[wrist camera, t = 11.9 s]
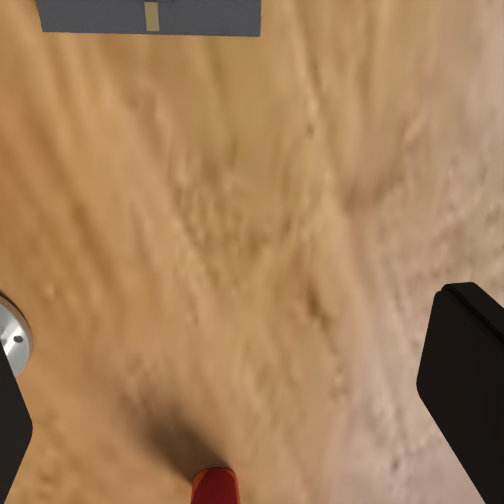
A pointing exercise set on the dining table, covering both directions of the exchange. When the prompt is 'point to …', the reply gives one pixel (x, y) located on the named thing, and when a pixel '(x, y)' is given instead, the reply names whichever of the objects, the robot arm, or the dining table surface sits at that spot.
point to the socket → (152, 17)
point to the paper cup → (215, 487)
